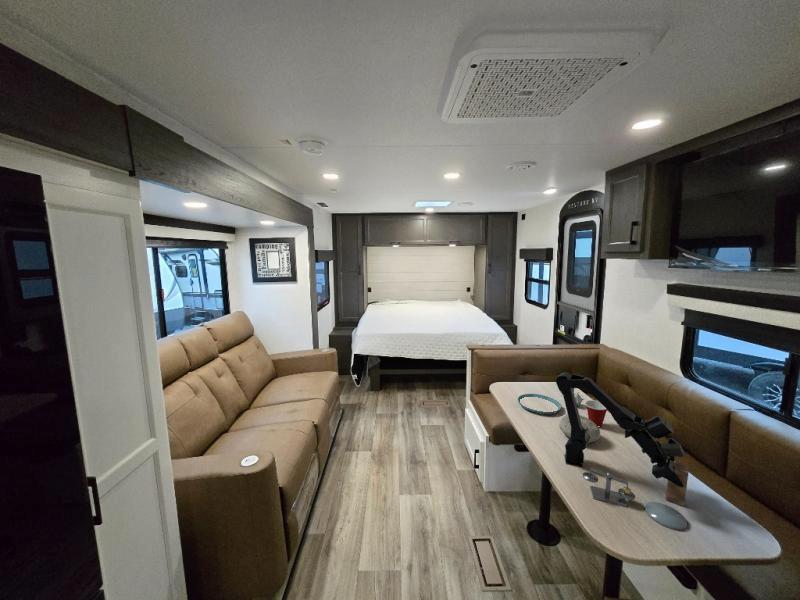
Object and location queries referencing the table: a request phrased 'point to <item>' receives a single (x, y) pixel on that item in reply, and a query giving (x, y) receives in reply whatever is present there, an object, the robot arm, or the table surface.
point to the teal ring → (542, 398)
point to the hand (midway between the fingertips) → (682, 482)
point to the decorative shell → (585, 422)
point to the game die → (578, 398)
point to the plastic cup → (596, 411)
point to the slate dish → (666, 515)
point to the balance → (608, 489)
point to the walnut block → (674, 491)
